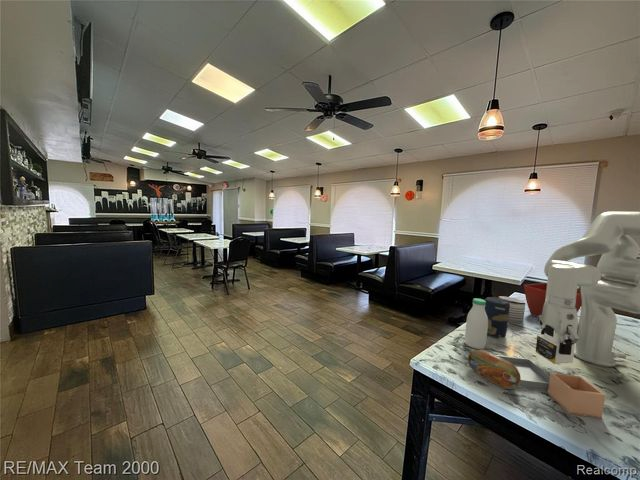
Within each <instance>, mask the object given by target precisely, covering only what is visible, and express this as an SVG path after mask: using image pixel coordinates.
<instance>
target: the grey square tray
mask: <svg viewBox="0 0 640 480" xmlns="http://www.w3.org/2000/svg"><path fill="white" fill-rule="evenodd" d="M494 355H495V356H498V357H500V358H502V359H504V360H507V361H509V362H511V363H512V364H513V365H514V366H515V367H516V368H517V369H518V371H519V373H520V378H521V379H520V383H519V384H518V385H517V386H516V388H517V387H519V388H524V389H526V388H527V389H532V390H533V389H534V390H538V391H539V390H540V391H546V392H548V388H549V381H550V374H548V373H547V372H546V371H544V369H542V368H541V367H540V366H539V365H538V364H536V362H535V361H533V360H532V359H530V358H525V357H517V356H516V357H515V356H509V355H508V356H507V355H501V354H500V355H499V354H498V355H497V354H494Z"/></svg>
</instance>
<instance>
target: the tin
mask: <svg viewBox="0 0 640 480" xmlns="http://www.w3.org/2000/svg"><path fill="white" fill-rule="evenodd" d="M495 355H496V354H492V353H491V352H488V351H486V350H484V349H475V350H472V351H471V352H469V353H468V355H467V362H468V365H469V367H470V369H471V370H472V371H473V372H474V373H475V374H476V375H479V376H481V378H484V379H486V380H488V381H490V382H492V383H493V384H495V385H498V387H500V388H503V389H506V390H507V389H508V390H513V389H514V388H517V385H518V384H519V383H520V379H521V378H520V373H519V371H518V369H517V368H516V367H515V366H514V365H513V364H512V363H511V362H509V361H507V360H504V359H502V358H500V357H498V356H495Z"/></svg>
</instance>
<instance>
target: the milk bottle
mask: <svg viewBox="0 0 640 480" xmlns="http://www.w3.org/2000/svg"><path fill="white" fill-rule="evenodd" d="M485 305H486V301H485V299H482V298H476V297H475V298H473V299H472V307H471V309H470V310H469V312H468V314H467V316H466V323H465V330H464V331H465V333H464V344H465V345H467V346H468V347H470V348H473V349H475V350H484V349H485V348H486V345H487V336H488V335H487V329H488V318H487V315H486V312H485Z"/></svg>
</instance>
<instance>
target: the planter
mask: <svg viewBox="0 0 640 480" xmlns="http://www.w3.org/2000/svg"><path fill="white" fill-rule="evenodd" d="M549 376H550V381H549V388H548V391H547V395H549V396H550V397H551V398H552V399H553V400H554V401H555V402H556V403H557V404H558V405H559V406H560V407H561V408H562V409H563V410H564V411H566V413H567V414H570V415H577V416H583V417H590V418H597V419H603V415H604V408H605V401H606V394H605V393H603V391H601V390H599V388H597V387H596V386H594V385H593V384H592V383H590V382H589V381H587V380H586V378H584V377H582V376H581V375H572V374H565V373H558V372H557V373H556V372H550V374H549Z"/></svg>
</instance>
